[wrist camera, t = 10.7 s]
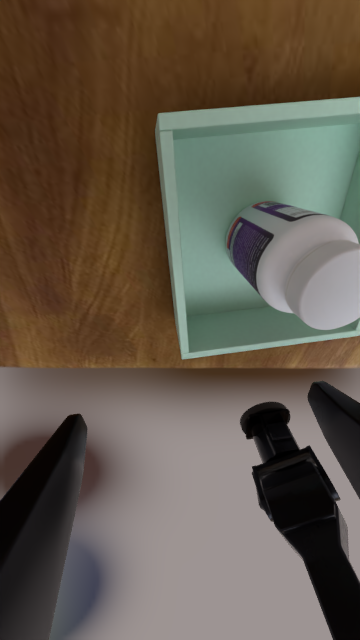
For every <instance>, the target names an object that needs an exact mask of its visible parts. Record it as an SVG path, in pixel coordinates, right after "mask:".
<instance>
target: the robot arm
mask: <svg viewBox="0 0 360 640" xmlns="http://www.w3.org/2000/svg"><path fill="white" fill-rule="evenodd" d="M308 401H309V403H310V406H311V408H312V410H313V412H314V415H315V417H316V419H317V422H318V424H319V426H320V428H321V430H322V432H323V435H324V437H325V439H326V441H327V442H328V444H329V446H330V448H331V449H332V451H333V453H334V455H335V457H336V458H337V460H338V462H339V464H340V465H341V467H342V469H343V471H344V472H345V474H346V476H347V478H348V479H349V481H350V483H351V485H352V486H353V488H354V490H355V492H356V493H357V495H358V497H359V499H360V403H359V402H357V401H355V400H354V399H352V398H351V397H349V396H347V395H346V394H344V393H342V392H341V391H339V390H338V389H336V388H334V387H333V386H331V385H330V384H328V383H326V382H324V381H319V382H313V383H312V385H311V388H310V390H309V393H308ZM289 414H290V411H289V410H288V409H281V410H274V411H268V412H261V413H254V414H250V415H249V416H248V422H247V429H246V438H247V439H254V441H255V444H256V447H257V449H258V452H259V455H260V457H261V460H262V463H263V464H260V465H257V466H253V467H252V469H253V472H252V475H253V478H254V481H255V485H256V489H257V495H258V501H259V505H260V508H261V509H263V510H264V511H265V512H266V514H267V515H268V517H269V519H270V520H271V521H272V522H274V524H275V527H276V528H277V529H278V531H279V532H280V533H281V535H282V536H283V537H284V539H285V540H286V541H287V542H288V544H289V545H290V546H291V548H292V549H293V550H294V551H295V552H296V553H297V554H298V555H299V556H300V558H301V559H302V560H303V561H304V563H305V566H306V569H307V571H308V574H309V577H310V579H311V582H312V585H313V587H314V590H315V593H316V595H317V598H318V600H319V603H320V606H321V609H322V611H323V614H324V617H325V619H326V622H327V625H328V627H329V630H330V633H331V635H332V638H333V640H360V581H359V579H358V577H357V575H356V573H355V571H354V569H353V567H352V565H351V563H350V561H349V553H348V530H347V525H346V523H345V520H344V518H343V516H342V514H341V512H340V510H339V508H338V506H337V504H336V501H339V500H340V497H339V496H338V493H337V492H336V490H335V488H334V486H333V484H332V483H331V481H330V479H329V477H328V476H327V474H326V472H325V470H324V469H323V467H322V465H321V464H320V462H319V460H318V459H317V457H316V456H315V454H314V452H313V451H312V449H311V447H310V446H307V447H306V448H304V449H301V450H300V448H299V446H298V444H297V442H296V441H295V439H294V437H293V435H292V433H291V431H290V429H289V427H288V426H287V420H288V417H289ZM86 440H87V426H86V424H85V421H84V419H83V417H82V416H81V414H73V415H69V416H68V417H67V418H66V419H65V420H64V421H63V423H62V424H61V425H60V426H59V428H58V429H57V430H56V432H55V433H54V434H53V435H52V437H51V438H50V439H49V440H48V441H47V443H46V444H45V445H44V447H43V448H42V449H41V450H40V451H39V453H38V454H37V455H36V456H35V458H34V459H33V460H32V462H31V463H30V464H29V465H28V467H27V468H26V469H25V470H24V472H23V473H22V474H21V475H20V477H19V478H18V479H17V480H16V482H15V483H14V484H13V485H12V487H11V488H10V489H9V490H8V492H7V493H6V494H5V495H4V497H3V498H2V499H1V500H0V640H49V637H50V631H51V627H52V622H53V617H54V612H55V607H56V603H57V598H58V593H59V588H60V584H61V578H62V574H63V569H64V564H65V559H66V554H67V550H68V544H69V540H70V535H71V531H72V526H73V521H74V516H75V511H76V506H77V501H78V497H79V492H80V487H81V482H82V477H83V469H84V460H85V450H86Z"/></svg>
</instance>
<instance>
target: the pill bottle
mask: <svg viewBox="0 0 360 640" xmlns="http://www.w3.org/2000/svg"><path fill="white" fill-rule="evenodd" d="M226 252H227V255H228V258H229V260H230V261H231V263H232V264H233V265H234V267H235V268H236V269H237V270H238V271H239V272H240V273H241V274H242V275H243V277H244V278H245V279H246V280H247V281H248V282H249V283H250V285H251V286H252V287H253V288H254V289H255V290H256V291H257V292H258V294H259V295H260V296H261V297H262V298H263V299H264V300H265V301H266V302H267V303H268V304H269V305H270V306H272V307H273V308H275V309H277V310H279V311H282V312H286V313H294V314H295V315H297V316H298V317H299V318H300V319H301V320H302V321H303V322H304V323H305V324H307V325H308V326H310V327H312V328H315V329H319V330H331V329H336V328H339V327H342V326H345V325H347V324H349V323H352V322H353V321H355V320H357V319H358V318H360V244H359V242H358V239H357V236H356V234H355V232H354V231H353V230H352V228H351V227H350V226H349V225H348V224H346V223H345V222H343V221H342V220H340V219H337V218H334V217H332V216H329V215H325V214H321V213H317V212H313V211H309V210H305V209H301V208H298V207H294V206H290V205H286V204H282V203H278V202H273V201H261V202H257V203H254V204H252V205H250V206H248V207H246V208H245V209H243V210H242V211H241V212H240V213H239V214H238V215H237V216H236V217H235V219H234V220H233V221H232V223H231V225H230V227H229V229H228V232H227V235H226Z"/></svg>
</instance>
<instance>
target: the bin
mask: <svg viewBox="0 0 360 640" xmlns="http://www.w3.org/2000/svg"><path fill="white" fill-rule="evenodd" d="M155 137H156V147H157V156H158V165H159V175H160V184H161V193H162V203H163V212H164V221H165V231H166V240H167V250H168V259H169V268H170V278H171V287H172V296H173V306H174V315H175V322H176V329H177V334H178V340H179V346H180V352H181V358H182V359H189V358H196V357H204V356H211V355H219V354H226V353H234V352H241V351H249V350H256V349H263V348H271V347H278V346H286V345H293V344H301V343H308V342H316V341H323V340H330V339H338V338H345V337H353V336H360V318H358V319H357V320H355V321H353V322H352V323H349V324H347V325H345V326H342V327H339V328H336V329H331V330H319V329H315V328H312V327H310V326H308V325H307V324H305V323H304V322H303V321H302V320H301V319H300V318H299V317H298V316H297V315H295V314H294V313H286V312H282V311H279V310H277V309H275V308H273V307H272V306H270V305H269V304H268V303H267V302H266V301H265V300H264V299H263V298H262V297H261V296H260V295H259V294H258V292H257V291H256V290H255V289H254V288H253V287H252V286H251V285H250V283H249V282H248V281H247V280H246V279H245V278H244V277H243V275H242V274H241V273H240V272H239V271H238V270H237V269H236V268H235V267H234V265H233V264H232V263H231V261H230V260H229V258H228V255H227V252H226V235H227V232H228V229H229V227H230V225H231V223H232V221H233V220H234V219H235V217H236V216H237V215H238V214H239V213H240V212H241V211H242V210H243V209H245V208H246V207H248V206H250V205H252V204H254V203H257V202H261V201H273V202H278V203H282V204H286V205H290V206H294V207H298V208H301V209H305V210H309V211H313V212H317V213H321V214H325V215H329V216H332V217H334V218H337V219H340V220H342V221H343V222H345V223H346V224H348V225H349V226H350V227H351V228H352V230H353V231H354V232H355V234H356V236H357V239H358V242H359V244H360V97H350V98H338V99H325V100H313V101H301V102H289V103H276V104H264V105H252V106H239V107H227V108H215V109H203V110H190V111H178V112H166V113H158V116H157V122H156V128H155Z"/></svg>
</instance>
